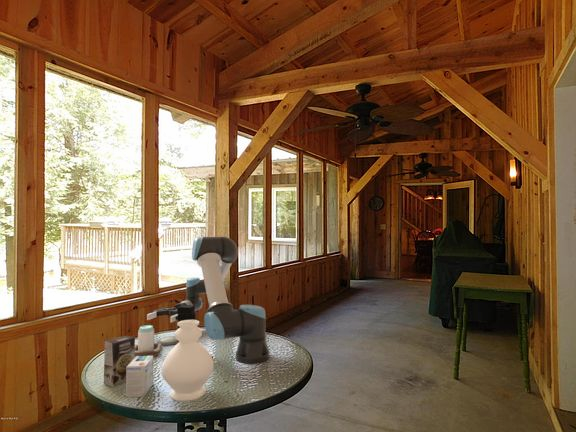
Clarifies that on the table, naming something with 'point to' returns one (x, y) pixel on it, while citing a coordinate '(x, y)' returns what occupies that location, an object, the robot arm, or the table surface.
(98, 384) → the table surface
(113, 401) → the table surface
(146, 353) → the frame
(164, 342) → the dock pad
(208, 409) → the table surface
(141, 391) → the light bulb box
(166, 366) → the decorative vase
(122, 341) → the coffee box
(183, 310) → the portable radio
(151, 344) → the can
